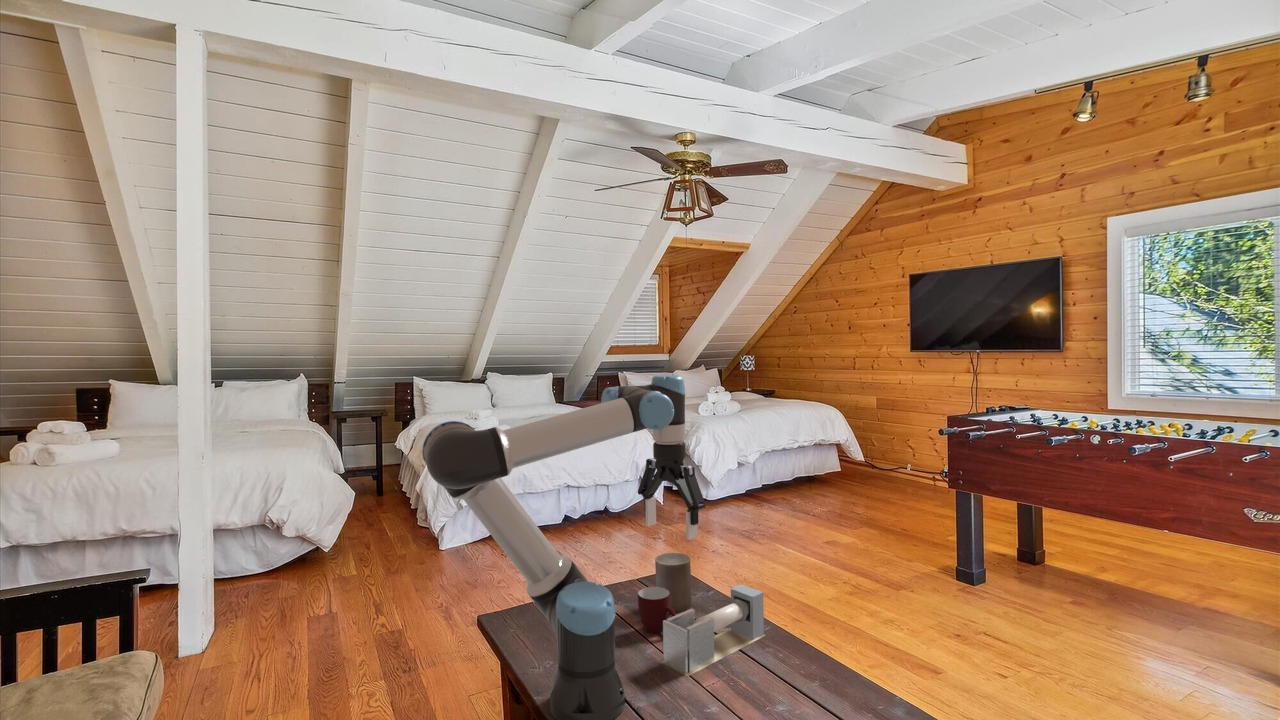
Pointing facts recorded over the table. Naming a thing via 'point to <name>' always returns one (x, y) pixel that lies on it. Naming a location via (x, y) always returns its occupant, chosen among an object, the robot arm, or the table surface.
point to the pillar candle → (675, 579)
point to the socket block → (755, 620)
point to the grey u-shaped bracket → (688, 642)
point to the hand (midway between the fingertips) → (670, 531)
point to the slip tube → (729, 614)
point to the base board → (725, 646)
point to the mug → (654, 608)
